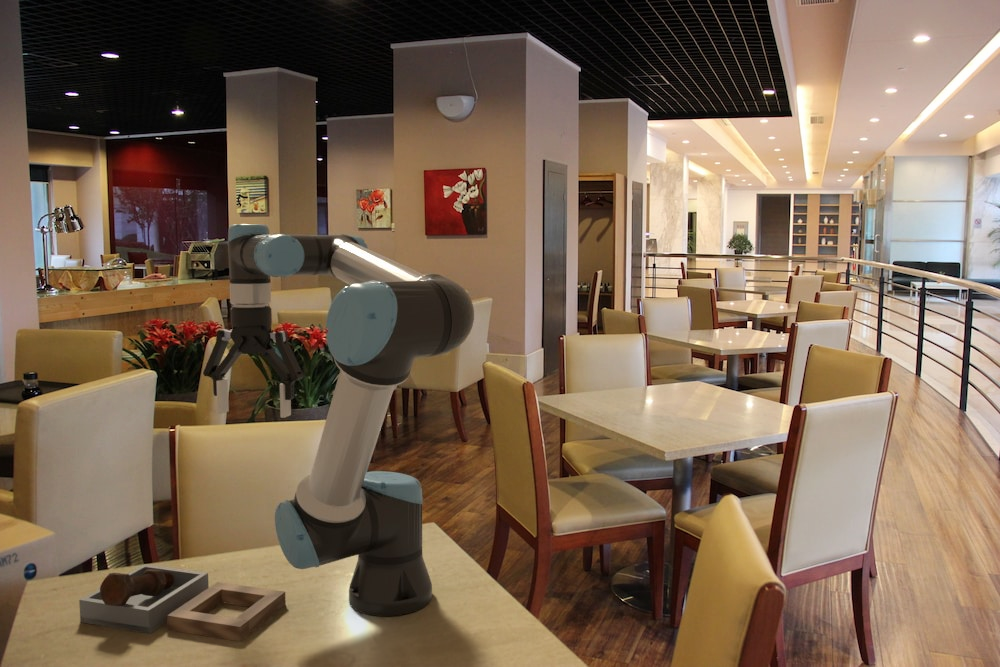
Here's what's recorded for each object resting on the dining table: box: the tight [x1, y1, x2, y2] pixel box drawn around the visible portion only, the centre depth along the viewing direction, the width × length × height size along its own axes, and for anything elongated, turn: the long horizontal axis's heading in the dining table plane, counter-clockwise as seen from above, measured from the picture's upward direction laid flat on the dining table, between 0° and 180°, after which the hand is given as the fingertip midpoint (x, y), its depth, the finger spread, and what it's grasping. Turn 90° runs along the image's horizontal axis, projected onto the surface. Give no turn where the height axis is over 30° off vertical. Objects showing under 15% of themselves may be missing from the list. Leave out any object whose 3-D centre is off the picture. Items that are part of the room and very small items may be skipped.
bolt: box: [99, 569, 174, 606], centre depth 143 cm, size 6×5×15 cm
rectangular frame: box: [166, 581, 287, 642], centre depth 141 cm, size 14×14×2 cm
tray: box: [78, 563, 210, 634], centre depth 144 cm, size 14×16×4 cm
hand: (254, 414), depth 158 cm, fingers open, 13 cm apart
